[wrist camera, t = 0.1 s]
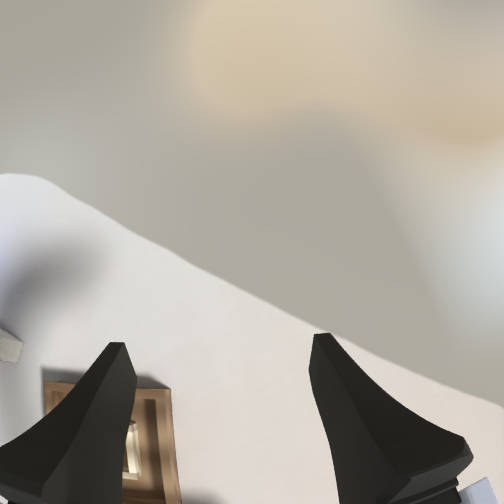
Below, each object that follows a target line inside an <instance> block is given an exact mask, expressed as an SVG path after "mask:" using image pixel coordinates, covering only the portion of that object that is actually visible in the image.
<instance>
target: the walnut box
mask: <svg viewBox="0 0 504 504" xmlns="http://www.w3.org/2000/svg"><path fill="white" fill-rule="evenodd" d="M44 384H45V405H46V415H47V414H48V413H49V412H50V411H51V410H53V409H54V408H55V407H56V406H57V405H58V404H59V403H60V402H61V401H62V400H63V399H64V398H65V396H66V395H67V394H68V393H69V392H70V391H71V390H72V389H73V387H74V386H75V385H76V384H74V383H65V382H52V381H44ZM122 503H123V504H182V503H181V495H180V488H179V479H178V471H177V462H176V452H175V441H174V430H173V417H172V403H171V389H150V388H136V393H135V401H134V406H133V411H132V415H131V420H130V425H129V429H128V434H127V439H126V444H125V450H124V459H123V477H122Z"/></svg>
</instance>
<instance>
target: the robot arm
mask: <svg viewBox="0 0 504 504" xmlns="http://www.w3.org/2000/svg"><path fill="white" fill-rule="evenodd" d="M309 375H310V381H311V386H312V391H313V395H314V398H315V401H316V404H317V407H318V410H319V413H320V416H321V419H322V422H323V425H324V428H325V432H326V435H327V438H328V441H329V445H330V449H331V454H332V459H333V465H334V470H335V476H336V482H337V489H338V496H339V503H340V504H499V501H498V499H497V497H496V494H495V492H494V490H493V488H492V485H491V483H490V481H489V479H488V477H485V478H483V479H481V480H479V481H477V482H475V483H474V484H472V485H470V486H468V487H466V488H464V489H462V490H461V491H459V492H458V491H457V489H456V486H458V485H459V482H458V480H457V478H456V477H457V476H458V475H459V474H460V473H461V472H462V471H463V470H464V469H465V468H466V467H467V466H468V465H469V464H470V463H471V462H472V460H473V458H474V457H473V454H472V452H471V450H470V448H469V446H468V444H467V442H466V440H465V439H464V437H462V436H459V435H457V434H454V433H452V432H450V431H447V430H445V429H443V428H440V427H438V426H437V425H435V424H433V423H431V422H429V421H427V420H425V419H424V418H422V417H420V416H419V415H417V414H415V413H414V412H412V411H411V410H409V409H408V408H406V407H405V406H403V405H402V404H401V403H399V402H398V401H396V400H395V399H394V398H393V397H391V396H390V395H389V394H388V393H387V392H385V391H384V390H383V389H382V388H381V387H380V386H379V385H377V384H376V383H375V382H374V381H373V380H372V379H371V378H370V377H369V376H368V375H367V374H366V373H365V372H364V371H363V370H362V369H361V368H360V367H359V366H358V365H357V363H356V362H355V361H354V360H353V359H352V358H351V357H350V356H349V355H348V353H347V352H346V351H345V350H344V349H343V348H342V346H341V345H340V344H339V343H338V342H337V340H336V339H335V338H334V337H333V336H332V334H330V333H321V334H314V338H313V345H312V351H311V358H310V364H309ZM136 382H137V376H136V373H135V371H134V368H133V365H132V363H131V360H130V357H129V354H128V352H127V349H126V346H125V343H124V342H110V343H109V344H108V345H107V346H106V348H105V349H104V350H103V351H102V353H101V354H100V355H99V357H98V358H97V359H96V360H95V362H94V363H93V364H92V366H91V367H90V368H89V369H88V371H87V372H86V373H85V374H84V376H83V377H82V378H81V379H80V380H79V382H78V383H77V384H76V385H75V386H74V387H73V389H72V390H71V391H70V392H69V393H68V394H67V395H66V396H65V398H64V399H63V400H62V401H61V402H60V403H59V404H58V405H57V406H56V407H55V408H54V409H53V410H51V411H50V412H49V413H48V414H47V415H46V416H45V417H44V418H42V419H41V420H40V421H39V422H37V423H36V424H35V425H34V426H32V427H31V428H30V429H28V430H27V431H26V432H24V433H23V434H21V435H20V436H18V437H17V438H15V439H14V440H12V441H10V442H9V443H7V444H5V445H3V446H1V447H0V495H1V496H3V497H4V498H5V499H7V500H8V504H123V503H122V477H123V459H124V450H125V444H126V439H127V434H128V429H129V425H130V420H131V415H132V411H133V406H134V401H135V393H136ZM0 504H2V503H0Z"/></svg>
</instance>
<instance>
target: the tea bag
mask: <svg viewBox="0 0 504 504" xmlns="http://www.w3.org/2000/svg"><path fill="white" fill-rule="evenodd" d="M23 343H24V342H22V341H20V340H19V339H17V338H15V337H14V336H12V335H11V334H9V333H8V332H6V331H4V330H3V329H1V328H0V360H2V361H9V362H15V363H18V362H19V358H20V354H21V350H22V347H23Z"/></svg>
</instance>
